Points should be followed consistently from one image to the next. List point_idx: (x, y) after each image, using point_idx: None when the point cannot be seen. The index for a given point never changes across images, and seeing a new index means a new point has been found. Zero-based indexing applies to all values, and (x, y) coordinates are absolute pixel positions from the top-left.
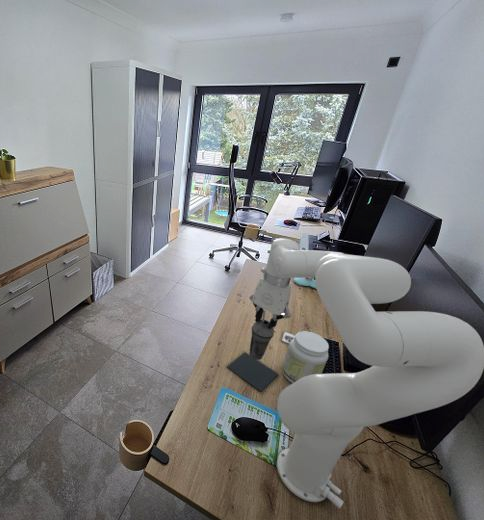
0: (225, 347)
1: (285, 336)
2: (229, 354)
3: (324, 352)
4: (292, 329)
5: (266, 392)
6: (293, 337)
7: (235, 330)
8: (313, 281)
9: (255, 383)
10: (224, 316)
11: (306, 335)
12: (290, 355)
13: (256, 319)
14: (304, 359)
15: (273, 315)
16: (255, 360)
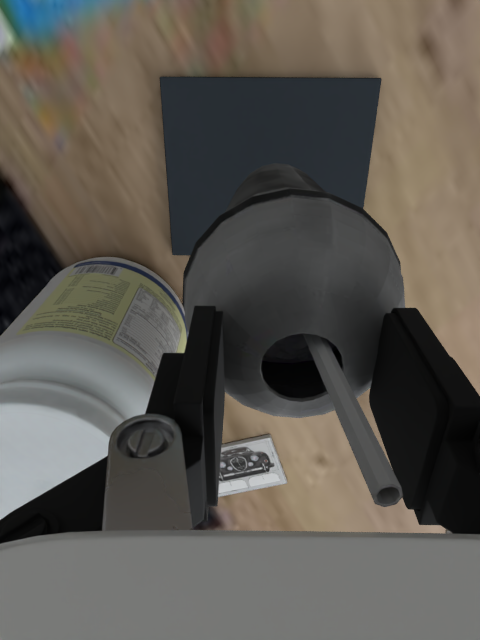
0: (455, 209)
1: (271, 464)
2: (413, 181)
3: None
4: (272, 510)
5: (142, 104)
6: (246, 478)
7: (463, 352)
8: None
9: (207, 103)
10: None
11: None
12: (121, 334)
13: (410, 324)
14: (21, 342)
15: (169, 492)
16: None
